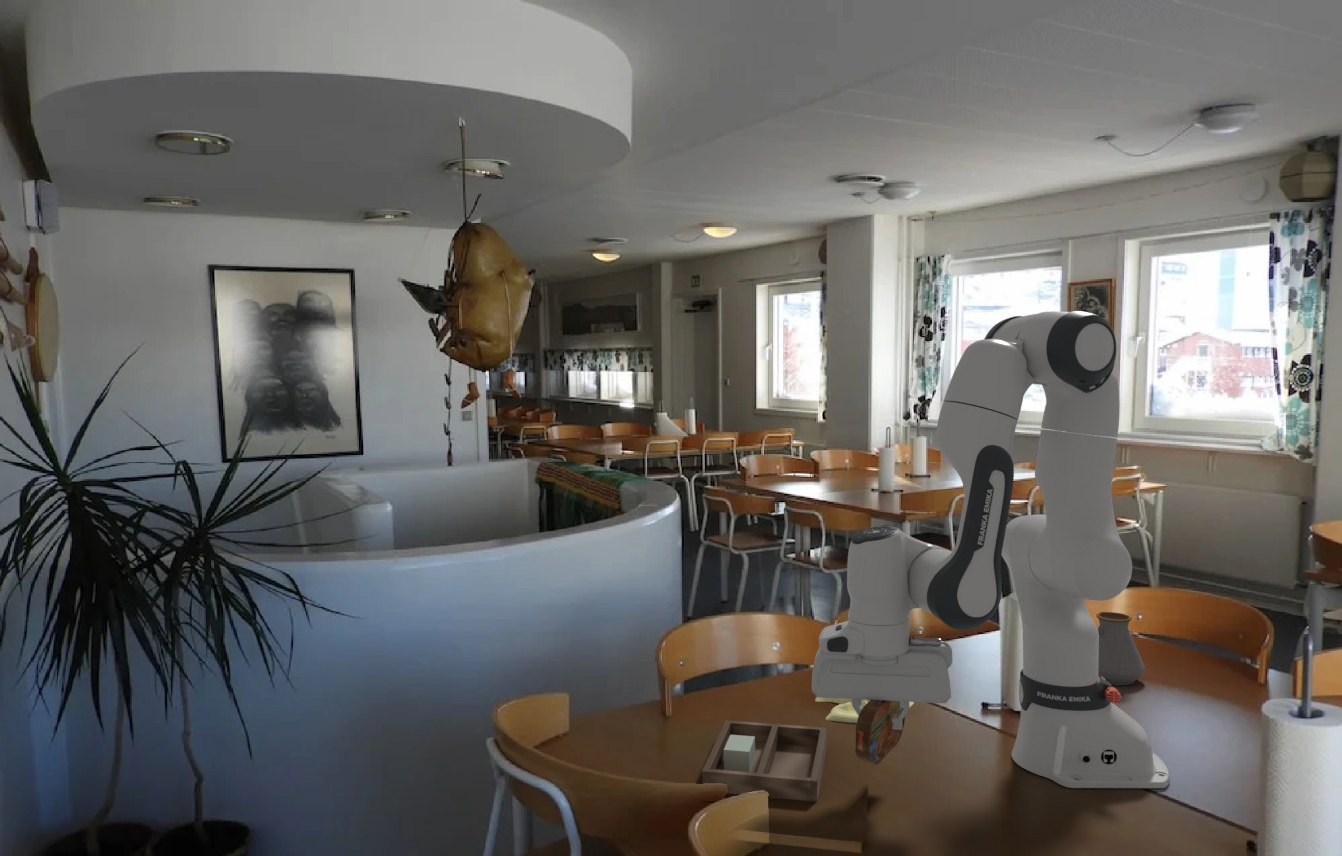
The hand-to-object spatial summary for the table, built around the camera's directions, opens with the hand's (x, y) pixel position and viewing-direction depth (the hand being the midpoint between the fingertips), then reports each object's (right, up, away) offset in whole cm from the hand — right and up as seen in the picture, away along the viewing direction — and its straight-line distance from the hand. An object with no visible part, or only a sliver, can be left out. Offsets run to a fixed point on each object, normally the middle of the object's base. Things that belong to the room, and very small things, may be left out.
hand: (881, 727), depth 136 cm
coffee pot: (+53, -6, +46) cm, 70 cm away
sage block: (-21, -9, +8) cm, 24 cm away
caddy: (-16, -10, +7) cm, 20 cm away
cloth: (+6, -8, +36) cm, 37 cm away
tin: (0, -4, +1) cm, 4 cm away
